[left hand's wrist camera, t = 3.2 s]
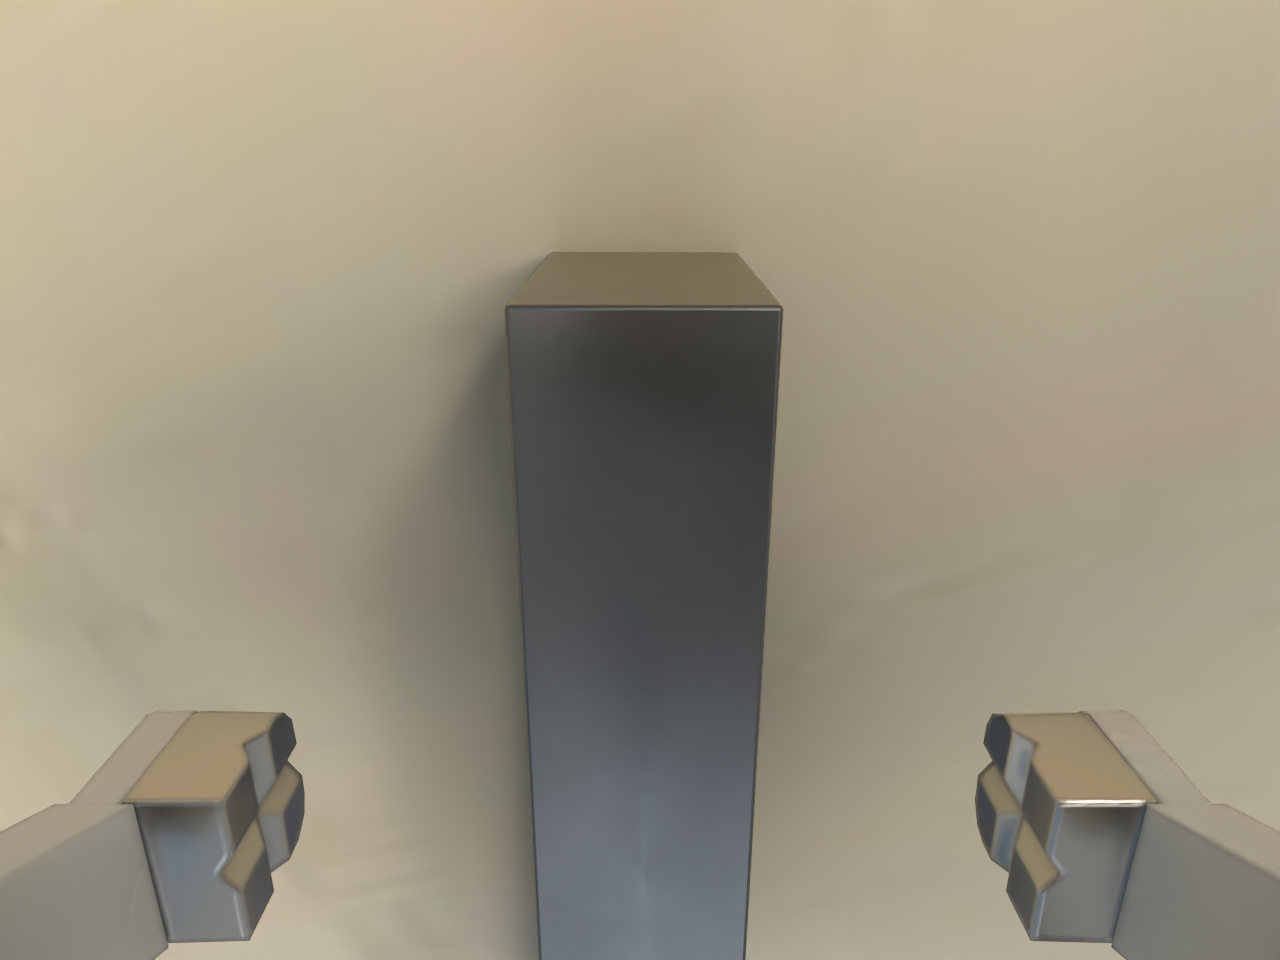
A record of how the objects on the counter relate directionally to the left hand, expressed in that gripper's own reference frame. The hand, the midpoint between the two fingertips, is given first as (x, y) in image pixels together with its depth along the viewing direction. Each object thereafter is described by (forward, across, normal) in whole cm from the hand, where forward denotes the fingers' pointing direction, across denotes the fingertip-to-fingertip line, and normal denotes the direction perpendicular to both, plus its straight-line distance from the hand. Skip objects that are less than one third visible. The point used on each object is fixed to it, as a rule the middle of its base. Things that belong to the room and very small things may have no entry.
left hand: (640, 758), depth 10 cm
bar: (+16, 0, -9) cm, 19 cm away
